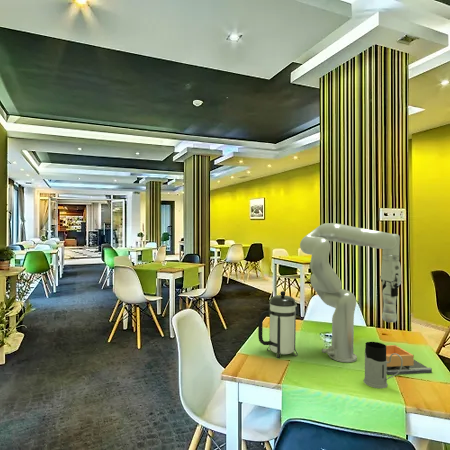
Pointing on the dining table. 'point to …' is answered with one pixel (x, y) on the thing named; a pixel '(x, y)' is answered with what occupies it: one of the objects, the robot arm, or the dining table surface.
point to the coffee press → (280, 325)
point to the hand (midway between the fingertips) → (389, 294)
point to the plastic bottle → (389, 304)
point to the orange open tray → (395, 359)
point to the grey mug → (377, 365)
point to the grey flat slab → (410, 369)
